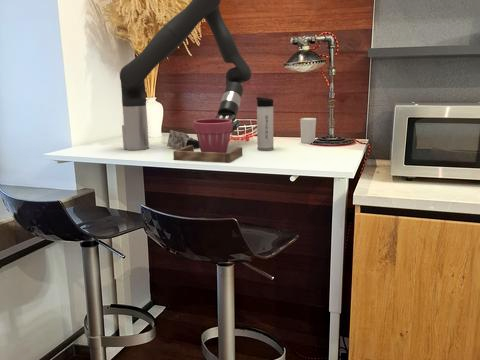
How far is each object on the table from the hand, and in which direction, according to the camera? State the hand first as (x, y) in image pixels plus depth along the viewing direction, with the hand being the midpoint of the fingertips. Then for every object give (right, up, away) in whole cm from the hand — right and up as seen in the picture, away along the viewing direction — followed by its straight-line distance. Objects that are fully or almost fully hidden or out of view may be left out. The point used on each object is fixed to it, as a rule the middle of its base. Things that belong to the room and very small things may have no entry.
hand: (219, 141), depth 171 cm
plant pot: (-2, -6, -4) cm, 7 cm away
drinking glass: (+36, +1, +20) cm, 41 cm away
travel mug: (+18, -3, +6) cm, 19 cm away
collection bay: (-3, -6, -8) cm, 11 cm away
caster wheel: (-14, -2, +13) cm, 19 cm away
